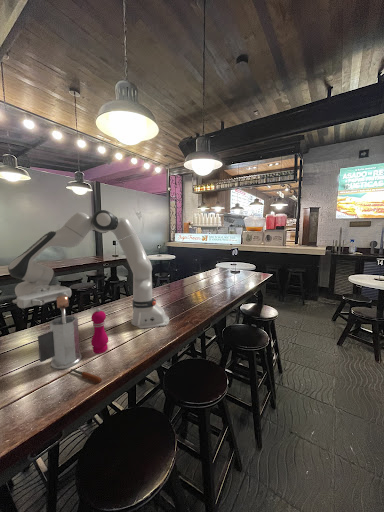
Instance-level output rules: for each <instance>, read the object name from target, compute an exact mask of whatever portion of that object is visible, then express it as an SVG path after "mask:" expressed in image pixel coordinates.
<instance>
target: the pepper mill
mask: <svg viewBox="0 0 384 512" xmlns="http://www.w3.org/2000/svg"><path fill="white" fill-rule="evenodd" d="M106 318H107V314H106V312H105V311H103V310H101V308H100V307H97V308H96V310H95V311H94V312H93V313H92V314H91V321H92V324H93V325H92V327H94V331H93V332H94V333H93V335H92V338H91V340H90V341H91V342H90V343H91V344H90V345H91V346H92V352H93V354H102V353H105V352H106V351H108V349H109V348H108V342H109V336H108V334H107V332H106V330H105V325H106V321H105V320H106Z"/></svg>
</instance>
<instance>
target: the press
mask: <svg viewBox="0 0 384 512" xmlns="http://www.w3.org/2000/svg"><path fill="white" fill-rule="evenodd" d="M65 318H66V324H62V316H60V317H56V318H54V319H52V320H51V321H50V322H49V331H48V332H47V333H43V334H41V335H38V336H37V343H38V355H39V362H40V363H43V362H45V361H47V360H49V359H52V360H51V362H50V365H51V367H50V368H51V369H52V370H58V371H59V370H66V369H71V368H72V367H74V366H77V364H79V363H80V362H81V360H82V354H81V353H80V352H81V350H80V334H79V319H78V317H76V316H75V315H65Z"/></svg>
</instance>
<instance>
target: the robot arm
mask: <svg viewBox="0 0 384 512" xmlns="http://www.w3.org/2000/svg"><path fill="white" fill-rule="evenodd" d="M91 231H93V232H96V233H99V234H106V233H109V232H111V233H113V234H114V236H115V237H116V239H117V241H118V243H119V246H120V247H121V249H122V252H123V254H124V256H125V258H126V261H127V264H128V266H129V267H130V270H131V272H132V284H133V285H132V294H133V295H132V296H133V297H132V298H133V299H132V318H131V321H130V323H131V325H132V326H134V327H136V328H138V329H149V328H159V326H160V327H165V325H166V326H168V324H169V322H170V317H169V316H168V315H166V312H165V310H164V308H162V307H160V306H159V305H158V304H157V301H156V300H157V299H156V298H153V280H152V279H153V277H152V276H153V275H152V274H153V273H152V271H153V266H152V262H151V260H150V259H149V257H148V255H147V253H146V251H145V249H144V246H143V244H142V242H141V240H140V238H139V236H138V234H137V231H136V230H135V228H134V226H133V225H132V223H131V222H130V220H129V219H128V218H126V217H119V218H118V217H117V216H116V215H114V214H113V213H111V212H109V211H108V210H106V209H99V210H97V211H96V212H94V213H93V214H92V215H88V214H87V213H85V212H83V211H81V212H80V211H78V212H76V213H74V214H73V215H72V216H71V217H70V218H69V219H68V220H67V221H66V222H65V223H64V224H63V225H62V226H61V228H59V229H57V230H55V231H52V230H51V231H48V232H47V233H45V234H44V235H43V236H41V237H40V238H39V239H38V240H36V242H34V243H33V244H32V245H31V246H30V247H29V248H28V249H26V250H25V251H24V252H23V253H21V254H20V255H19V256H17V257H16V258H14V259H13V260H12V261H11V262H10V263H9V265H8V267H7V270H8V273H9V275H10V277H12V278H15V279H18V280H22V282H19V283H17V285H15V288H14V292H15V296H16V298H15V299H12V301H11V302H12V303H13V304H16V306H17V307H18V308H20V309H27V308H30V307H34V306H43V305H45V304H47V303H50V302H54V301H57V297H58V296H64V295H66V296H68V298H70V297H71V296H72V289H71V288H70V287H67V286H63V285H60V284H58V283H55V284H54V281H55V276H56V275H55V271H54V269H53V268H51V267H49V266H47V265H45V264H42V263H39V262H38V261H35V259H36V258H37V257H38V256H39V255H41V253H43V252H44V251H45V250H46V249H48V248H50V247H59V248H60V247H61V248H66V249H67V248H68V249H69V248H70V249H71V248H75V247H78V246H79V245H80V244H81V243H82V242H83V240H84V239H85V238H86V236H87V235H88V234H89V233H90V232H91Z"/></svg>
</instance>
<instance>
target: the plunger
mask: <svg viewBox="0 0 384 512" xmlns="http://www.w3.org/2000/svg"><path fill="white" fill-rule="evenodd" d="M69 306H70V305H69V297H68V296H66V295H64V296H58V297H57V300H56V308H57V309H61V317H62V324H66V318H65V316H66V308H67V307H69Z"/></svg>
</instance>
